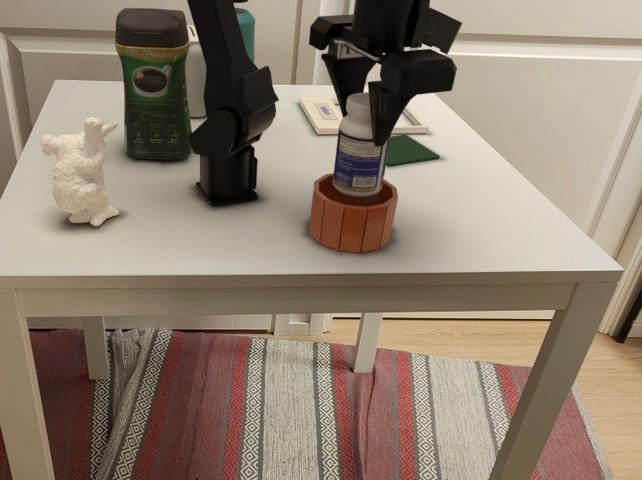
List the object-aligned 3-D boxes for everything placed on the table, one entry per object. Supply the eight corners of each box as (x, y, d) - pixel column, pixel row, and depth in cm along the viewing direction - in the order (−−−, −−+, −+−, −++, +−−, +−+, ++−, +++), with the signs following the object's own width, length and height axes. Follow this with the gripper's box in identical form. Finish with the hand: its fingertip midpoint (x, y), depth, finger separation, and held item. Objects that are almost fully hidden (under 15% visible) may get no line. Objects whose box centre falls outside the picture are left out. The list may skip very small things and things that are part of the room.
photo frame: (299, 96, 113) (399, 95, 115) (299, 102, 113) (398, 102, 116) (318, 127, 102) (428, 125, 104) (317, 134, 102) (426, 132, 105)
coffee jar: (194, 142, 98) (192, 4, 86) (189, 164, 92) (186, 18, 80) (130, 139, 98) (118, 0, 86) (120, 160, 92) (107, 14, 80)
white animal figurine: (129, 206, 81) (120, 108, 74) (123, 233, 76) (113, 130, 68) (60, 205, 81) (44, 106, 73) (49, 231, 76) (30, 128, 68)
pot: (334, 258, 74) (340, 214, 70) (295, 220, 80) (299, 178, 77) (404, 243, 77) (414, 200, 73) (362, 208, 84) (368, 167, 80)
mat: (388, 166, 94) (389, 163, 94) (356, 143, 100) (356, 141, 100) (439, 158, 97) (440, 155, 97) (405, 136, 104) (405, 134, 103)
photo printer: (175, 97, 113) (172, 19, 105) (200, 97, 114) (199, 18, 106) (184, 119, 105) (181, 35, 97) (210, 118, 106) (210, 35, 98)
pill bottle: (349, 172, 78) (361, 86, 72) (390, 187, 76) (407, 99, 69) (322, 187, 75) (332, 98, 69) (364, 203, 72) (379, 112, 66)
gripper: (523, -11, 58) (477, 159, 68) (404, -47, 71) (380, 101, 81) (419, -7, 54) (387, 173, 64) (313, -45, 67) (300, 110, 77)
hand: (364, 135), depth 71 cm, fingers closed on pill bottle, 6 cm apart
